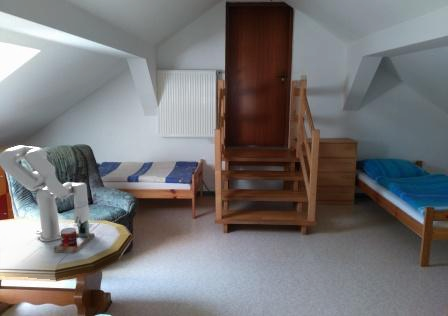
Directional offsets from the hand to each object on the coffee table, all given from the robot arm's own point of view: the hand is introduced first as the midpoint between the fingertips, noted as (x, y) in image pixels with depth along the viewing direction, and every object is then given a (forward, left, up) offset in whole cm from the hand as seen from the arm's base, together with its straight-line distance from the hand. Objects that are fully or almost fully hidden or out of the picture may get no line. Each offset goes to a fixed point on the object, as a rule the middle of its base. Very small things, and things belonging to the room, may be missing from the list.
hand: (83, 232), depth 213 cm
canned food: (0, -16, -3) cm, 17 cm away
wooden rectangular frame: (0, -10, -2) cm, 11 cm away
